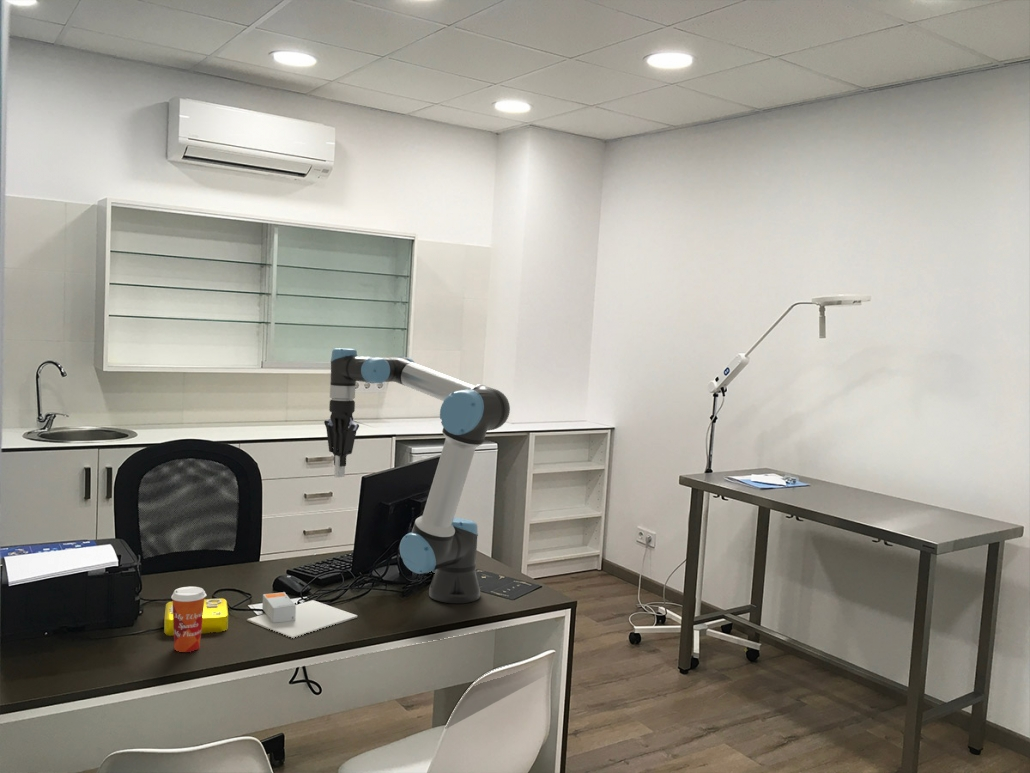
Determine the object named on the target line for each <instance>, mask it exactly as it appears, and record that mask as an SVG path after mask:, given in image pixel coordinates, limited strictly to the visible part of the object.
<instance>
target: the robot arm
mask: <svg viewBox="0 0 1030 773" xmlns="http://www.w3.org/2000/svg"><path fill="white" fill-rule="evenodd" d="M356 382H362V383H370V384H382V383H385V382H386V383H387V382H388V383H389V382H391V383H393V382H394V383H397V384H399V385H402V386H405V387H407V388H411V389H412V390H414V391H415V390H416V391H418V392H419V393H423V394H425V395H427V396H429V397H432V398H435V399H437V400H440V401H441V402H442V403H441V406H440V409H439V418H440V420H441V422H440V423H441V426H442V434H443V436H444V438H445V439H444V444H443V446H442V449H441V450H442V451H441V454H440V457H439V460H438V464H437V466H436V470H435V474H434V475H433V476H434V477H433V480H432V483H431V486H430V490H429V493H428V497H427V500H426V503H425V505H424V510H423V513H422V515H420V516H419V517H417V518H416V519H415V520H414V524H413V527H412V530H411V532H408V533H407V534H405V535H404V536H403V537H402V539H401V540H400V542H399V554H400V558H401V559H402V562H403V564H404V565H405V567H406V568H407V569H408V570H410V571H411V572H413V573H415V574H419V575H422V574H428V573H429V572H431V571H433V570H436V571H435V574H433V577H432V580H431V582H430V585H429V588H428V595H429V597H430V598H431V599H433V600H434V601H437V602H440V603H445V604H446V603H448V604H468V603H469V604H470V603H472V602H475V601H478V600H479V599H480V598H481V588H480V585H479V580H478V577H477V572H476V566H477V565H476V563H477V549H478V547H477V546H478V537H479V533H478V524H477V523H476V522H475V521H473V520H470V519H466V518H461V517H455V515H456V512H457V509H458V506H459V502H460V499H461V496H462V494H463V489H464V487H465V484H466V480H467V477H468V474H469V471H470V467H471V465H472V461H473V457H474V454H475V451H476V449H477V448H479V447H480V446H482V445H483V443H484V441H485V438H486V435H487V431H493V430H497V429H498V428H501V427H502V426H503V425H504V424H505V423H506V422H507V420H508V418H509V416H510V412H511V405H510V402H509V399H508V398H507V397H506V394H504V393H503V392H502V391H500V390H499V389H497V388H492V387H489V386H486V385H484V384H481V383H480V384H476V385H474V384H472V383H468V382H465V381H463V380H461V379H458V378H455V377H452V376H450V375H448V374H445V373H442V372H439V371H436V370H434V369H431V368H429V367H426V366H423V365H420V364H417V363H416V362H415V361H414V360H413V359H412V358H411V357H405V356H358V352H357V350H356V349H354V348H342V347H341V348H340V347H336V348H333V349H332V350H331V359H330V382H329V383H330V387H329V398H330V400H329V407H328V408H329V409H328V410H329V412H330V413H331V414H330V416H329V419H327V420H324V422H323V423H324V425H325V429H326V437H327V446H328V451H329V452H330V453H332V454H333V465H334V474H333V475H334V478H342V477H345V475H346V474H345V472H346V471H345V470H346V469H345V468H346V466H347V456H348V455H352V453H353V450H354V444H355V440H356V436H357V431H358V429H359V428H360V425H359V423H355V421H354V417H353V414H354V412H355V411H356V410H355V409H356V402H355V399H356V384H357V383H356ZM429 574H430V573H429Z"/></svg>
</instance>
